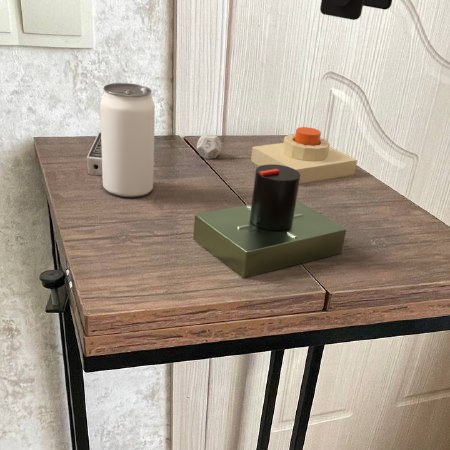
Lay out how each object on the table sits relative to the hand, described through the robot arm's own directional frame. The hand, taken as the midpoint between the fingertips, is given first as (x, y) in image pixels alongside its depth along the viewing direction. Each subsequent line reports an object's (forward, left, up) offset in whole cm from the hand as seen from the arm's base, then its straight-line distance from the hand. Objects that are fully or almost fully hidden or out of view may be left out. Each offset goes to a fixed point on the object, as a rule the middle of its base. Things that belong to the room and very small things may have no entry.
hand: (356, 11), depth 53 cm
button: (-21, -26, -21) cm, 39 cm away
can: (+7, -28, -25) cm, 38 cm away
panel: (0, -7, -24) cm, 25 cm away
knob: (0, -7, -21) cm, 22 cm away
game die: (-10, -35, -25) cm, 44 cm away
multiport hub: (+5, -38, -25) cm, 45 cm away
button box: (-21, -26, -24) cm, 41 cm away
